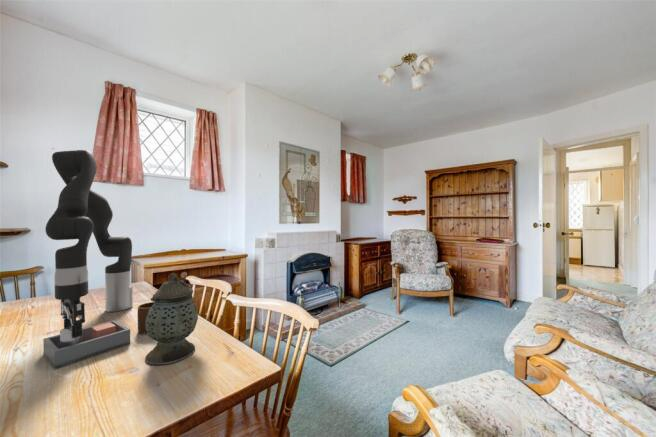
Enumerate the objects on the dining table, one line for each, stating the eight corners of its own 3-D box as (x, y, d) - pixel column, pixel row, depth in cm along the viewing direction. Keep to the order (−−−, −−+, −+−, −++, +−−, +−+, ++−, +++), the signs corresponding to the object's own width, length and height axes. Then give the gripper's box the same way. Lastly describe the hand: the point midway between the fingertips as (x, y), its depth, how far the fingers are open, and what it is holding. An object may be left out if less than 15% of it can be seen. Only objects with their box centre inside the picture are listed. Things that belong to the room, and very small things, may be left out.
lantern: (151, 347, 88) (151, 270, 88) (199, 339, 93) (199, 267, 93) (138, 370, 75) (138, 280, 75) (195, 360, 80) (194, 276, 80)
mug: (172, 330, 100) (172, 305, 100) (150, 338, 94) (150, 311, 94) (155, 324, 107) (155, 300, 106) (133, 331, 100) (133, 306, 100)
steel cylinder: (79, 345, 87) (79, 324, 87) (84, 350, 84) (84, 327, 84) (58, 352, 83) (58, 329, 83) (62, 357, 80) (62, 333, 80)
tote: (114, 333, 98) (114, 320, 98) (130, 344, 90) (130, 329, 90) (43, 354, 83) (43, 338, 83) (54, 369, 75) (54, 351, 75)
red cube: (110, 336, 93) (110, 322, 93) (116, 340, 90) (115, 325, 90) (91, 342, 89) (91, 327, 89) (97, 346, 86) (96, 330, 86)
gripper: (95, 282, 82) (96, 334, 83) (80, 275, 90) (81, 323, 91) (61, 287, 76) (62, 344, 76) (49, 280, 84) (50, 332, 84)
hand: (72, 333), depth 83 cm, fingers open, 8 cm apart
